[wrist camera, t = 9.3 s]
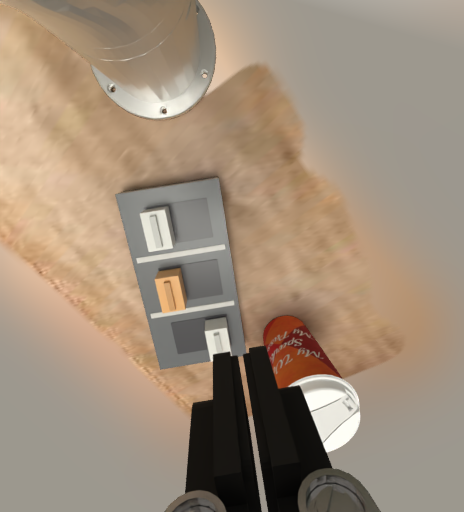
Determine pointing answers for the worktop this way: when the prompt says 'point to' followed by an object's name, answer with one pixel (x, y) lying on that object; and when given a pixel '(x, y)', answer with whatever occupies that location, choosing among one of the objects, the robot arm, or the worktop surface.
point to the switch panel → (185, 268)
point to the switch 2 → (171, 290)
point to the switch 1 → (158, 228)
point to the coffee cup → (313, 379)
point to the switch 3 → (217, 336)
